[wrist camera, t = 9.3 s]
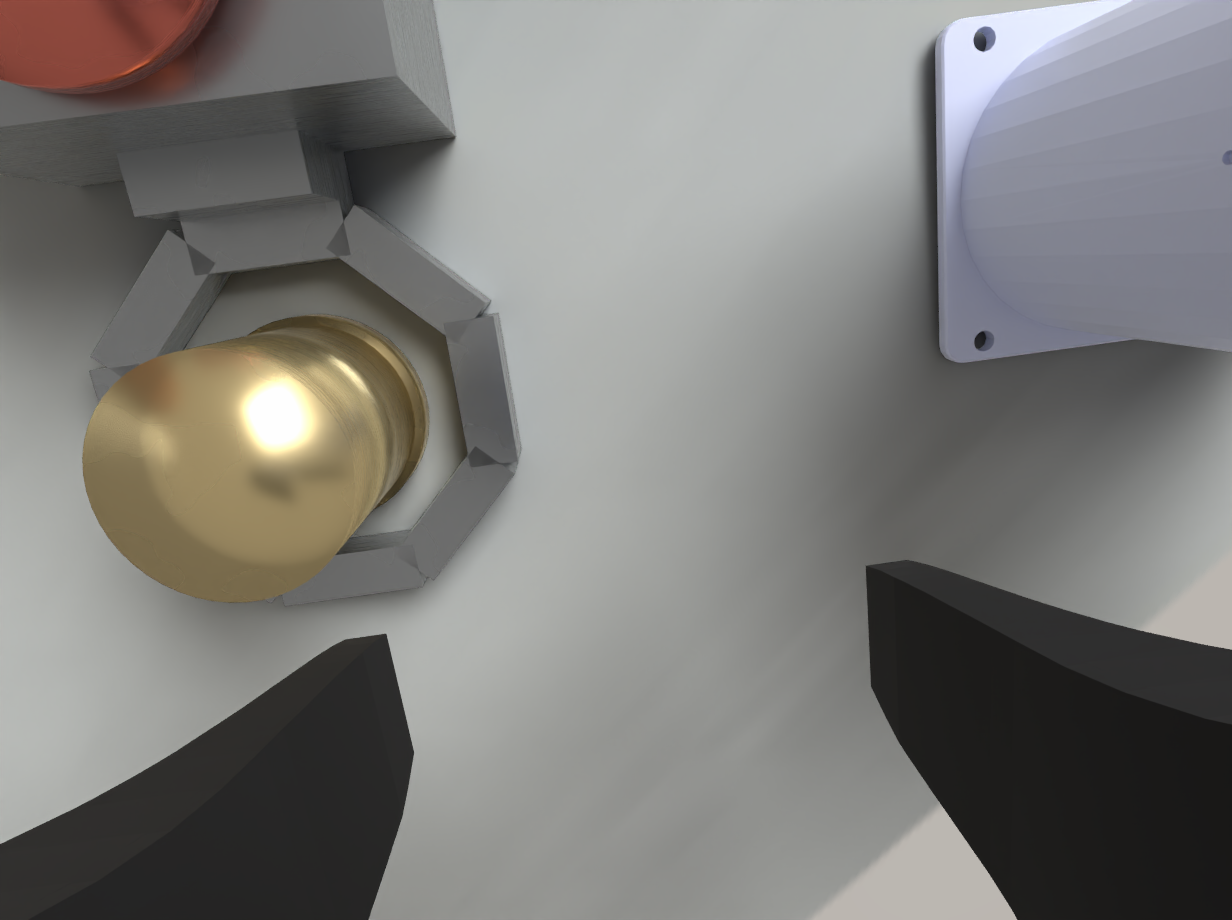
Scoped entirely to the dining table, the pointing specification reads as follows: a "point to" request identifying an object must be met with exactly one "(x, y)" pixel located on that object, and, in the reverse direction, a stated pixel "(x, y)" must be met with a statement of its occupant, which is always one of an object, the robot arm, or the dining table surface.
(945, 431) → the dining table surface
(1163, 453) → the dining table surface
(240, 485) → the knob
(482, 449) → the red button switch
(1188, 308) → the robot arm
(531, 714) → the dining table surface
